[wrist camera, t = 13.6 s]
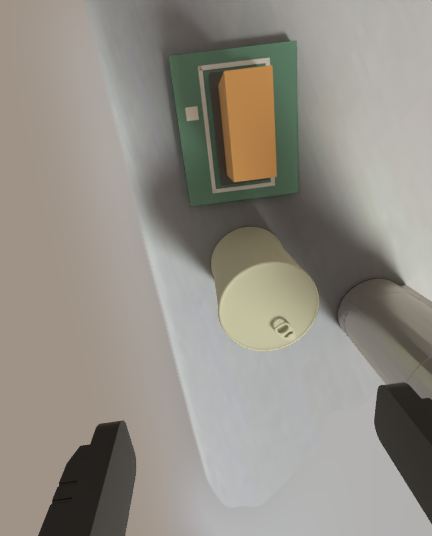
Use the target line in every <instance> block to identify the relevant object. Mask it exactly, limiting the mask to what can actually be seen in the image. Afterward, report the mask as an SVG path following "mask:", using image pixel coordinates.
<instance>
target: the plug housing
mask: <svg viewBox="0 0 432 536" xmlns="http://www.w3.org/2000/svg"><path fill="white" fill-rule="evenodd" d="M218 88H219V98H220V108H221V118H222V128H223V139H224V149H225V159H226V169H227V176H228V177H229V178H230V179H231V180H232V181H233V182H240V181H248V180H256V179H264V178H271V177H277V167H276V142H275V116H274V91H273V66H272V65H270V66H262V67H253V68H245V69H237V70H229V71H224V73H223V75H222V77H221V80H220V82H219V85H218Z"/></svg>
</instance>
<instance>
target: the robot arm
mask: <svg viewBox="0 0 432 536" xmlns="http://www.w3.org/2000/svg"><path fill="white" fill-rule="evenodd" d="M338 321H339V324H340V327H341V328H342V329H343V331H344V332H345V333H346V335H347V336H348V337H349V338H350V340H351V341H352V342H353V343H354V345H355V346H356V347H357V349H358V350H359V351H360V352H361V354H362V355H363V356H364V357H365V359H366V360H367V361H368V362H369V364H370V365H371V366H372V367H373V369H374V370H375V371H376V372H377V374H378V375H379V376H380V377H381V379H382V380H383V381H384V382H385V384H386V385H380V386H379V387H378V391H377V401H376V409H375V419H374V423H375V429H376V432H377V435H378V437H379V440H380V442H381V443H382V445H383V447H384V448H385V450H386V451H387V453H388V455H389V456H390V458H391V459H392V461H393V462H394V464H395V466H396V467H397V469H398V471H399V472H400V474H401V475H402V477H403V478H404V480H405V482H406V483H407V485H408V487H409V488H410V490H411V491H412V493H413V495H414V496H415V498H416V499H417V501H418V503H419V504H420V506H421V507H422V509H423V511H424V512H425V514H426V515H427V517H428V519H429V520H430V522H431V523H432V302H431V301H430V300H428V299H427V298H425V297H424V296H422V295H421V294H419V293H418V292H416V291H415V290H413V289H412V288H410V287H409V286H407V285H397V284H396V283H394V282H392V281H390V280H386V279H371V280H368V281H365V282H362V283H360V284H358V285H356V286H355V287H354V288H352V289H351V290H350V291H349V292H348V293H347V294H346V295H345V297H344V298H343V300H342V301H341V304H340V306H339V309H338ZM135 476H136V457H135V452H134V449H133V445H132V442H131V439H130V436H129V433H128V429H127V426H126V423H125V422H124V421H117V422H110V423H102V424H99V425H98V426H97V427H96V430H95V432H94V435H93V438H92V441H91V444H90V445H83V446H80V447H79V448H78V450H77V451H76V452H75V454H74V455H73V456H72V457H71V459H70V460H69V462H68V463H67V465H66V467H65V470H64V472H63V475H62V477H61V479H60V482H59V487H57V490H56V492H55V495H54V497H53V500H52V504H51V505H50V507H49V510H48V512H47V515H46V517H45V520H44V522H43V525H42V528H41V530H40V532H39V535H38V536H125V532H126V527H127V522H128V516H129V510H130V505H131V499H132V493H133V487H134V482H135Z"/></svg>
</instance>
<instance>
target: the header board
mask: <svg viewBox="0 0 432 536" xmlns="http://www.w3.org/2000/svg"><path fill="white" fill-rule="evenodd" d="M168 58H169V65H170V72H171V78H172V85H173V92H174V99H175V106H176V112H177V119H178V126H179V133H180V140H181V146H182V153H183V160H184V167H185V174H186V180H187V187H188V194H189V201H190V206H198V205H206V204H214V203H221V202H229V201H237V200H245V199H253V198H260V197H268V196H276V195H284V194H292V193H299V189H298V116H297V44H296V41H288V42H279V43H271V44H263V45H254V46H246V47H238V48H229V49H221V50H213V51H204V52H196V53H188V54H179V55H171V56H168ZM270 65H272V66H273V91H274V116H275V142H276V167H277V177H271V178H264V179H256V180H248V181H240V182H233V181H232V180H231V179H230V178H229V177H228V176H227V169H226V159H225V149H224V139H223V128H222V118H221V108H220V98H219V88H218V85H219V82H220V80H221V77H222V75H223V73H224V71H229V70H237V69H245V68H253V67H262V66H270Z"/></svg>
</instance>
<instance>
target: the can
mask: <svg viewBox="0 0 432 536" xmlns="http://www.w3.org/2000/svg"><path fill="white" fill-rule="evenodd" d="M211 270H212V274H213V277H214V280H215V286H216V293H217V301H218V316H219V321H220V324H221V326H222V328H223V330H224V332H225V333H226V334H227V336H228V337H229V338H230V339H231V340H233V341H234V342H235V343H237V344H238V345H240V346H242V347H245V348H247V349H251V350H256V351H272V350H277V349H281V348H284V347H286V346H288V345H291V344H292V343H294V342H296V341H297V340H299V339H300V338H301V337H302V336H303V335H304V334H305V333H306V332H307V331H308V330H309V329H310V327H311V326H312V324H313V323H314V321H315V319H316V316H317V313H318V309H319V294H318V290H317V287H316V285H315V283H314V281H313V280H312V278H311V277H310V276H309V275H308V274H307V273H306V272H305V271H304V270H303V269H302V268H301V267H300V266H299V265H298V264H297V263H296V262H295V260H294V259H293V258H292V257H291V256H290V255H289V254H288V252H287V251H286V250H285V249H284V248H283V246H282V244H281V242H280V241H279V239H278V238H277V237H276V236H275V235H274V234H272V233H271V232H269V231H267V230H265V229H262V228H259V227H243V228H239V229H236V230H234V231H232V232H230V233H228V234H227V235H225V236H224V237H223V238H222V239H221V240H220V241H219V243H218V244H217V245H216V247H215V249H214V251H213V254H212V258H211Z"/></svg>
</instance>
